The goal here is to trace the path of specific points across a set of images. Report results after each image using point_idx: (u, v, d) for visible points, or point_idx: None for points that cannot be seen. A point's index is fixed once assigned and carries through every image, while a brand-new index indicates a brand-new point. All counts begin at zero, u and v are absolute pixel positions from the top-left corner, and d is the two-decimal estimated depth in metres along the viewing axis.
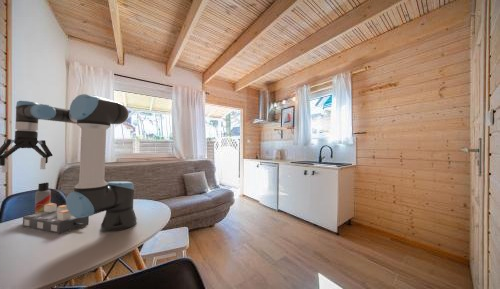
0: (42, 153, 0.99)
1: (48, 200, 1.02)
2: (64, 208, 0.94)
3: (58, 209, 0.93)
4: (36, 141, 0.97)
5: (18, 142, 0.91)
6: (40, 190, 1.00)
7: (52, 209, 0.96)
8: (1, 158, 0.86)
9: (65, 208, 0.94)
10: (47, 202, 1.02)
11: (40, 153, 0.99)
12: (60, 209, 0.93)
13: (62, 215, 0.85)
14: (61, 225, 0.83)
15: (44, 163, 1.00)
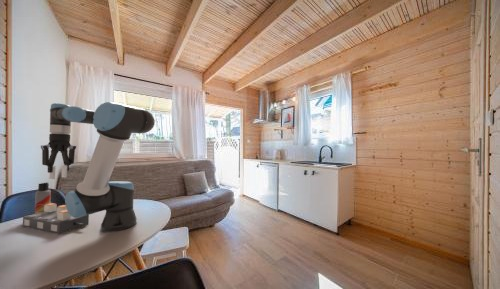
0: (66, 159, 0.95)
1: (48, 200, 1.02)
2: (64, 208, 0.94)
3: (58, 209, 0.93)
4: (69, 144, 0.96)
5: (53, 145, 0.90)
6: (40, 190, 1.00)
7: (52, 209, 0.96)
8: (50, 165, 0.89)
9: (65, 208, 0.94)
10: (47, 202, 1.02)
11: (64, 159, 0.95)
12: (60, 209, 0.93)
13: (62, 215, 0.85)
14: (61, 225, 0.83)
15: (66, 171, 0.95)
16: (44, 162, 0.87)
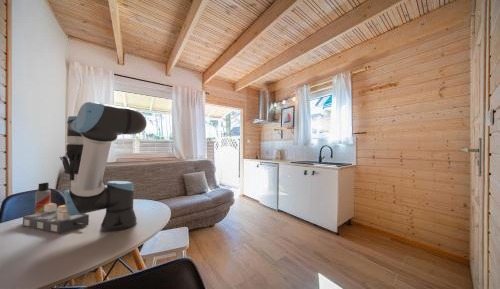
0: (78, 168, 1.00)
1: (48, 200, 1.02)
2: (64, 208, 0.94)
3: (58, 209, 0.93)
4: None
5: (71, 155, 0.97)
6: (40, 190, 1.00)
7: (52, 209, 0.96)
8: (72, 174, 0.98)
9: (65, 208, 0.94)
10: (47, 202, 1.02)
11: (76, 167, 1.00)
12: (60, 209, 0.93)
13: (62, 215, 0.85)
14: (61, 225, 0.83)
15: (77, 180, 1.00)
16: (67, 171, 0.96)
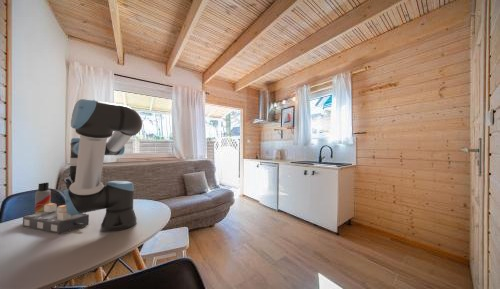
0: None
1: (48, 200, 1.02)
2: (64, 208, 0.94)
3: (58, 209, 0.93)
4: None
5: (74, 176, 0.98)
6: (40, 190, 1.00)
7: (52, 209, 0.96)
8: None
9: (65, 208, 0.94)
10: (47, 202, 1.02)
11: None
12: (60, 209, 0.93)
13: (62, 215, 0.85)
14: (61, 225, 0.83)
15: None
16: None
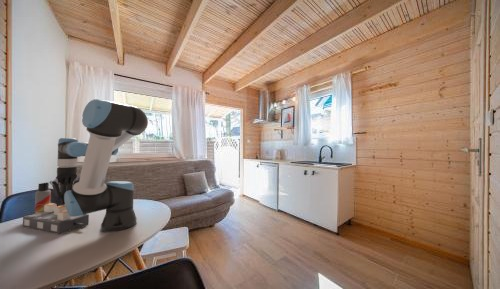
0: None
1: (48, 200, 1.02)
2: (61, 209, 0.93)
3: (55, 210, 0.92)
4: (75, 176, 0.99)
5: (61, 179, 0.93)
6: (40, 190, 1.00)
7: (52, 209, 0.96)
8: (62, 198, 0.94)
9: (62, 209, 0.93)
10: (47, 202, 1.02)
11: (68, 191, 0.96)
12: (57, 210, 0.92)
13: (62, 215, 0.85)
14: (61, 225, 0.83)
15: None
16: (57, 196, 0.92)
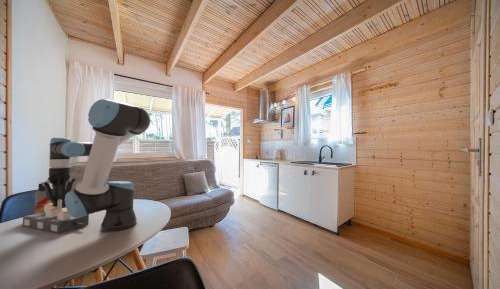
0: (62, 193, 0.93)
1: (48, 200, 1.02)
2: (53, 211, 0.89)
3: (47, 212, 0.89)
4: (68, 177, 0.96)
5: (53, 180, 0.90)
6: (40, 190, 1.00)
7: None
8: (55, 200, 0.91)
9: (54, 211, 0.90)
10: (47, 202, 1.02)
11: (60, 192, 0.93)
12: (49, 212, 0.89)
13: (62, 215, 0.85)
14: (61, 225, 0.83)
15: (60, 205, 0.93)
16: (49, 198, 0.89)
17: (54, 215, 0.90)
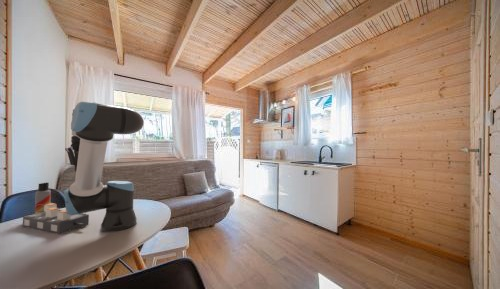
0: None
1: (48, 200, 1.02)
2: (53, 211, 0.89)
3: (47, 212, 0.89)
4: None
5: (76, 146, 0.99)
6: (40, 190, 1.00)
7: None
8: (77, 165, 0.99)
9: (54, 211, 0.90)
10: (47, 202, 1.02)
11: None
12: (49, 212, 0.89)
13: (62, 215, 0.85)
14: (61, 225, 0.83)
15: None
16: (72, 162, 0.98)
17: (54, 215, 0.90)
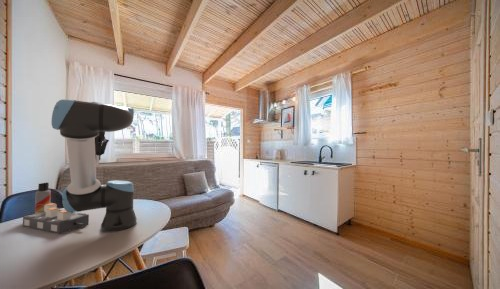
0: (99, 150, 1.10)
1: (48, 200, 1.02)
2: (53, 211, 0.89)
3: (47, 212, 0.89)
4: (104, 137, 1.13)
5: None
6: (40, 190, 1.00)
7: None
8: None
9: (54, 211, 0.90)
10: (47, 202, 1.02)
11: (98, 149, 1.10)
12: (49, 212, 0.89)
13: (62, 215, 0.85)
14: (61, 225, 0.83)
15: (98, 160, 1.09)
16: None
17: (54, 215, 0.90)
